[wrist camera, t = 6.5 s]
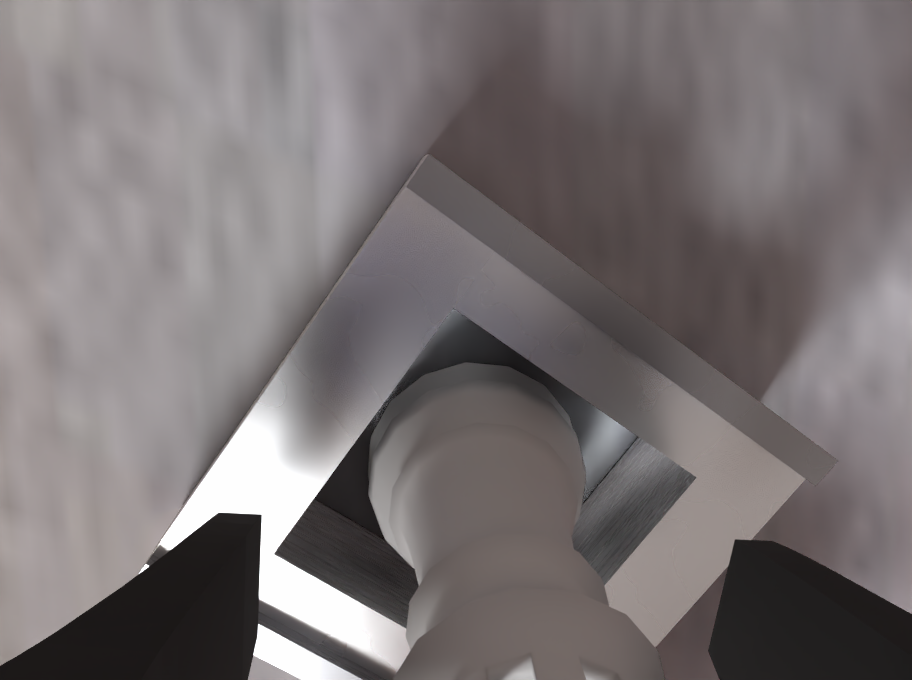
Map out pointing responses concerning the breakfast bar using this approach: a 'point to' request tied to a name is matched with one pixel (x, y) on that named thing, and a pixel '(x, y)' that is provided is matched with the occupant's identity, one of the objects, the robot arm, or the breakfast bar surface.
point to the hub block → (548, 347)
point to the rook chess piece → (495, 534)
